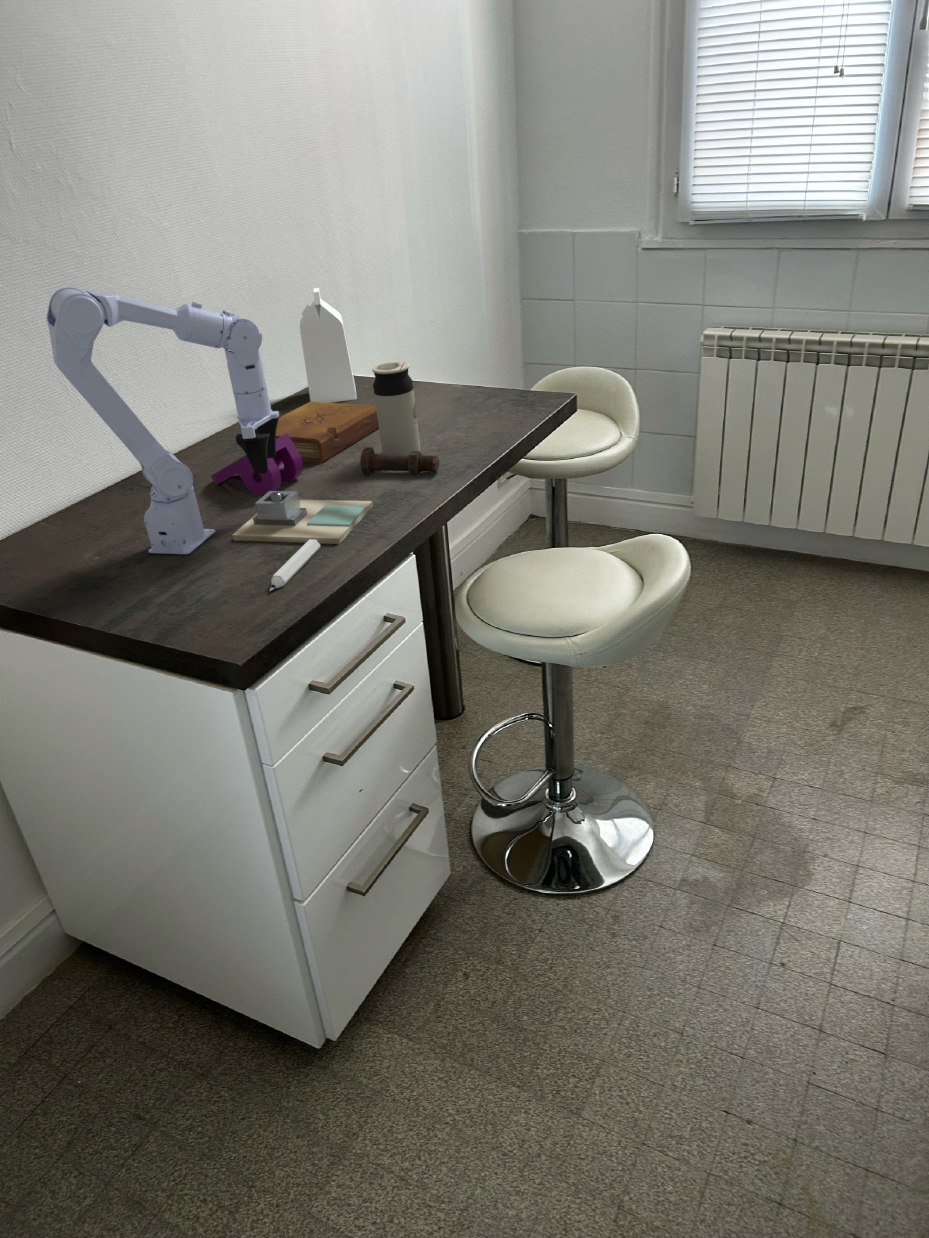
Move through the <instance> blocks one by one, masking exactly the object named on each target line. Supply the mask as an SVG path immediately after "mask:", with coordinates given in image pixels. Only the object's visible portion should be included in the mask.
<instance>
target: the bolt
mask: <svg viewBox="0 0 929 1238" xmlns="http://www.w3.org/2000/svg"><path fill="white" fill-rule="evenodd" d="M359 463H360V470H361V474H362V475H363V476H364V477H371V476H372V475H373V474H374V473H375V472H381V471H384V472H385V471H386V472H389V471H391V472H392V471H393V472H408V473H409V475H411V476H420V475H421V474H420V472H421V473H425V472H427V473H436V472H437V471H438V470H439V467H440V459H439V457H438V455H424V454H422V452H421V450H420V451H412V452H410V454H409V455H391V454H390V455H389V454H383V453H375V450H374V448H373V447H365V448H364V449H363V450H362V451H361V454H360V459H359ZM374 471H375V472H374ZM373 472H374V473H373ZM372 473H373V474H372ZM371 474H372V475H371ZM419 474H420V475H419ZM370 475H371V476H370Z"/></svg>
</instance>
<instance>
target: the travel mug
mask: <svg viewBox="0 0 929 1238" xmlns="http://www.w3.org/2000/svg"><path fill="white" fill-rule="evenodd" d="M409 368H410V364H409V363H408V362H404V361H390V362H384V363H380V364H376V365H375V366H373V367H372V369H371V371H372V373H373V375H374V377H375V378H374V381H373V383H372V386H373V387H372V388H373V394H374V395H373V396H374V402H375V403H374V404H375V406H376V410H377V417H378V424H379V428H378V429H379V436H380V443H381V450H382V454H389V455H390V454H391V455H409V454H410V452H412V451H420V452H421V449H422V448H421V441H420V433H419V431H420V430H419V425H418V417H417V416H418V415H417V407H416V400H415V391H414V383H413V379H412V377H411V376H410V375H409Z"/></svg>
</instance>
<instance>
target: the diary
mask: <svg viewBox="0 0 929 1238" xmlns="http://www.w3.org/2000/svg"><path fill="white" fill-rule="evenodd" d="M376 429H377V430H378V429H379V424H378V417H377V410H376V404H375V405H373V404H358V403H357V404H356V403H355V404H354V403H339V402H331V403H324V402H311V401H309V402H307V403H304V404H302V406H299V407H297V408H295V409H294V410H291V411H289V412H287V413H285V414H283V415H280V416H279V421H278V424H277V429H276V439H277V438H279V437H281V436H283V435H285V434H286V433H288V435H289V437H290V438H291V440H292V442H293V443H294V445H295V447H296V449H297V450H298V452H299V454H300V456H301V458H302V462H309V461H310V462H312V463H319V462H320V463H322V464H323V463H325V462H327V461H329V460H330V459H331V458H333V457H334V456H336V455H338V454H339V453H341V452H342V450H343V451H344V450H346V449H347V447H348V448H349V447H351V446H352V445H354V444H355V442H356V443H357V442H359V441H360V439H361V440H363V439H364V438H365V437H367V436H368V435H370V434H372V433H373V431H374V432H375V431H377V430H376ZM337 453H338V454H337ZM329 458H330V459H329ZM324 461H325V462H324ZM310 462H309V463H310ZM320 463H319V464H320Z"/></svg>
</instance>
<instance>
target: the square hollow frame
mask: <svg viewBox="0 0 929 1238" xmlns="http://www.w3.org/2000/svg"><path fill="white" fill-rule="evenodd" d="M273 492H281V496H282V501H281V502H276V501H272V499H271V493H273ZM299 500H300V497H299V492H298V491H292V490H291V491H286V490H285V491H284V490H283V491H280V490H276V491H269V492H267V493H266V494H265V495H264V496H262V497H261V498H259V499H258V500H257V501H256V502H255V503H254V506H255V511H256V514H257V515H258V519H268V520H288V519H289V518H290V517H291V516H292V515H293V514H294V513H295V512H296V511H297V510H298V509H299V508H300V507H301V506H300V501H299Z"/></svg>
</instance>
